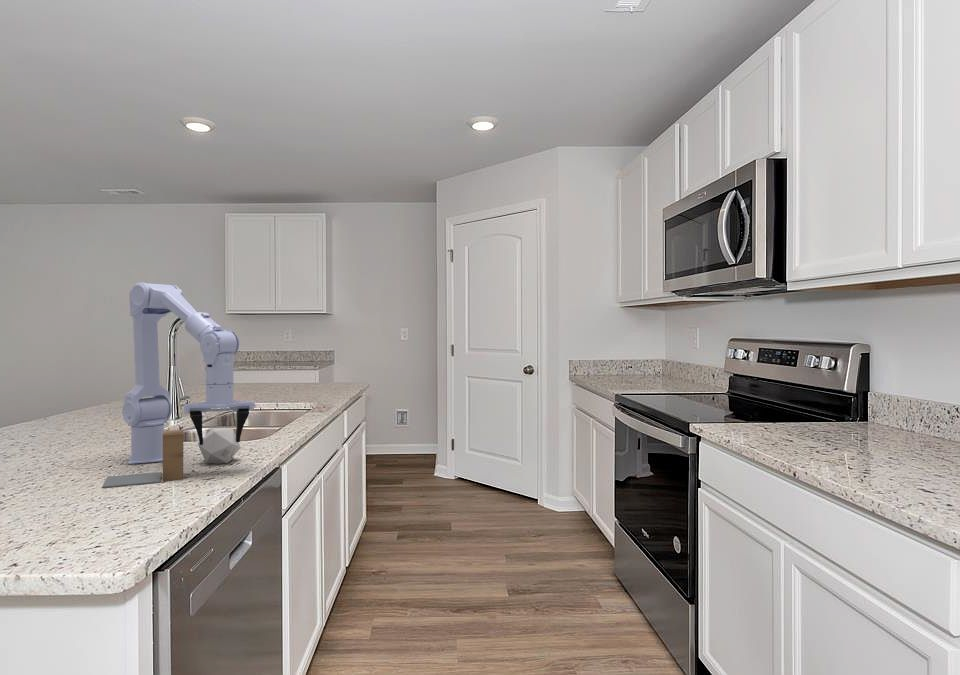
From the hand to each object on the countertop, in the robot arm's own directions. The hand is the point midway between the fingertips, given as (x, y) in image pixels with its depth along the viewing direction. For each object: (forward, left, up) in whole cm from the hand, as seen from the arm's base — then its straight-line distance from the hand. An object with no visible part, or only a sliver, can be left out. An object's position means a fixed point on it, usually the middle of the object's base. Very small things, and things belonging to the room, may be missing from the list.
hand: (219, 442), depth 135 cm
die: (-12, +1, -7) cm, 14 cm away
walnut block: (0, -9, -7) cm, 12 cm away
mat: (0, -17, -7) cm, 19 cm away
